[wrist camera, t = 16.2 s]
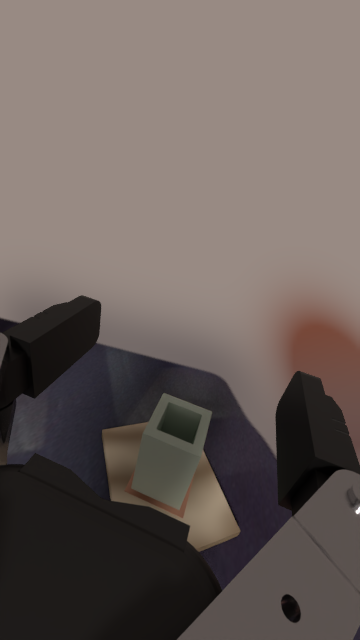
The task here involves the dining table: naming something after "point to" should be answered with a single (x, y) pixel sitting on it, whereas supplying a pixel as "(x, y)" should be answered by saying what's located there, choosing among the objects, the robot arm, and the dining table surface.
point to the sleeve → (171, 450)
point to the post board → (196, 510)
